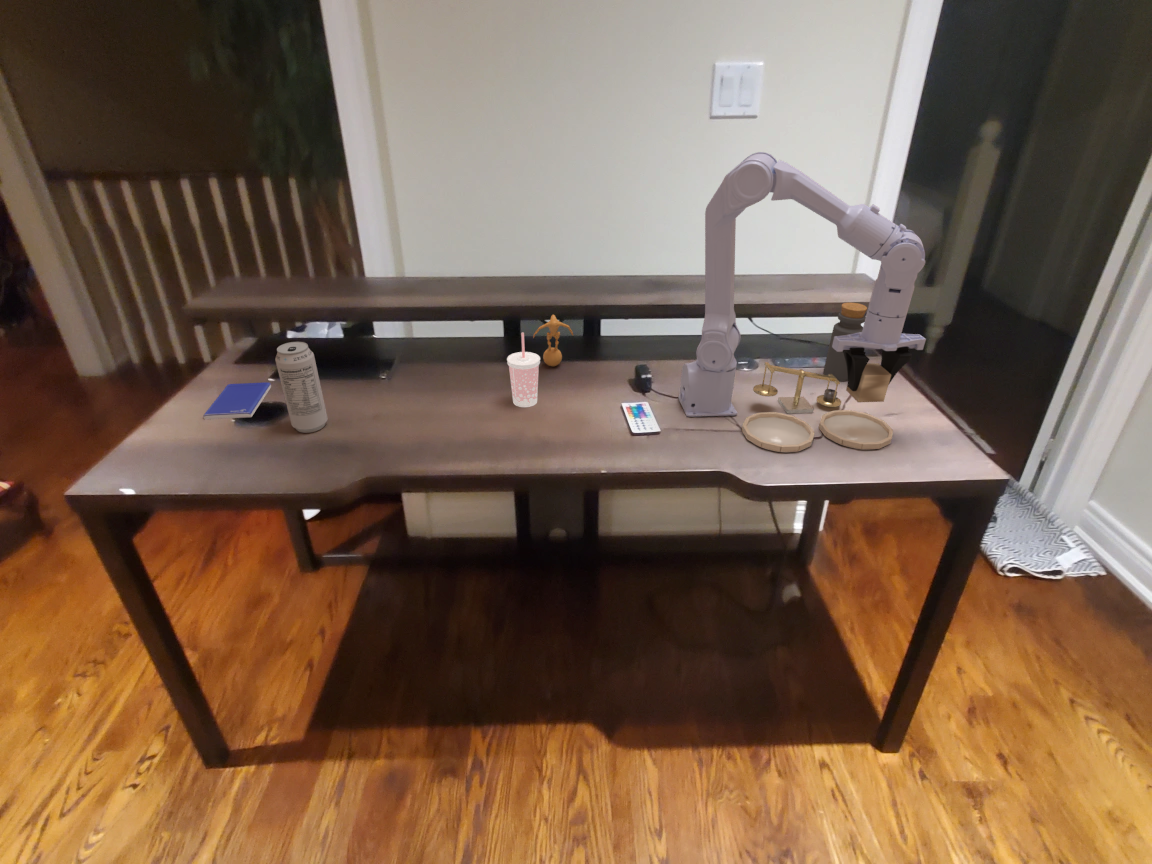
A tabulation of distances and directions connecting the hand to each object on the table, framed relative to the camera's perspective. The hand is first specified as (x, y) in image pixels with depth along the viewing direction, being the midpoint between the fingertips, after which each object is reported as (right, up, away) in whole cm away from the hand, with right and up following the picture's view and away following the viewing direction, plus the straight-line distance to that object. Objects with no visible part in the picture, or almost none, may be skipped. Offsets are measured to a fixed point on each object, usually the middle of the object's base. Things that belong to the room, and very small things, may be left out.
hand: (866, 388), depth 108 cm
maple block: (0, -1, +1) cm, 1 cm away
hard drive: (-113, -2, +13) cm, 114 cm away
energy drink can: (-96, -7, +5) cm, 97 cm away
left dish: (-14, -8, +4) cm, 17 cm away
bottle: (+5, +4, +25) cm, 26 cm away
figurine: (-54, +6, +27) cm, 61 cm away
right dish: (0, -8, +4) cm, 9 cm away
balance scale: (-8, -3, +13) cm, 15 cm away
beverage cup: (-59, -2, +14) cm, 61 cm away
